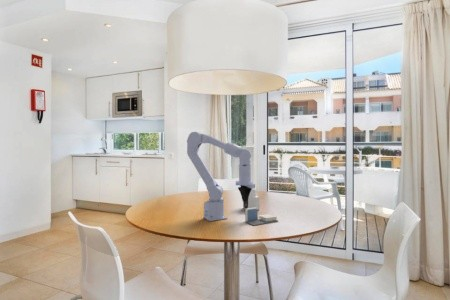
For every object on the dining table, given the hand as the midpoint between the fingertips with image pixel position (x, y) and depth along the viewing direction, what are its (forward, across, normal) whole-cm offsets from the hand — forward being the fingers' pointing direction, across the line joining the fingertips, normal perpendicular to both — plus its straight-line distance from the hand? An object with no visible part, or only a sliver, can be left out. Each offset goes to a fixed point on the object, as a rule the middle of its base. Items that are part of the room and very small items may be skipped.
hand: (245, 201), depth 139 cm
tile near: (+8, -5, 0) cm, 10 cm away
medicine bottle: (+8, +16, -14) cm, 23 cm away
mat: (+8, -10, -3) cm, 13 cm away
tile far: (+7, -6, -7) cm, 11 cm away
